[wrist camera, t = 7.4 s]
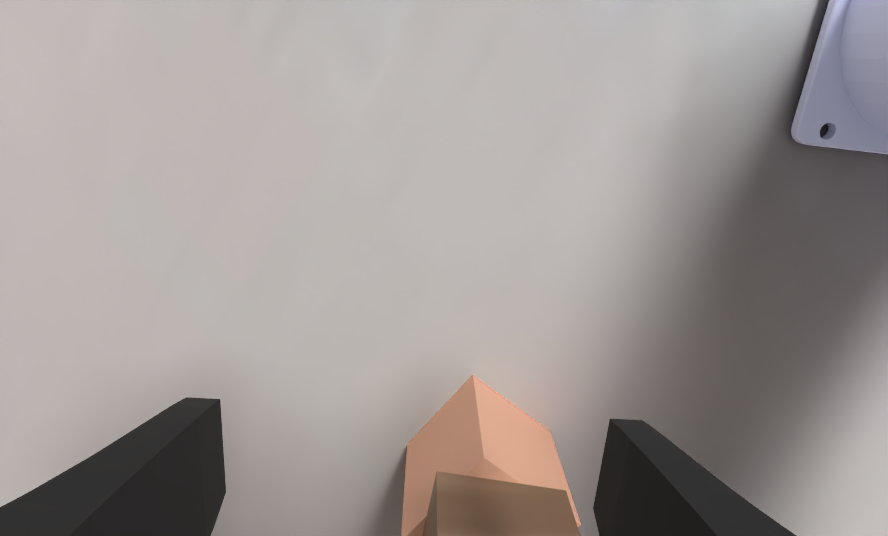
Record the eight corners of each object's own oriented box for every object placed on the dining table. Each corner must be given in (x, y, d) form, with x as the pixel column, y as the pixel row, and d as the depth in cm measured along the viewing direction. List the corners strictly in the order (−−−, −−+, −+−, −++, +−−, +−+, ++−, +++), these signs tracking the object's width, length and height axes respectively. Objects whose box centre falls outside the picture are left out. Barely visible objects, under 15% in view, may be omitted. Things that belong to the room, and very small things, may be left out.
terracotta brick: (472, 374, 22) (483, 457, 17) (550, 430, 23) (581, 525, 18) (407, 444, 23) (400, 541, 18) (484, 496, 24) (497, 601, 19)
